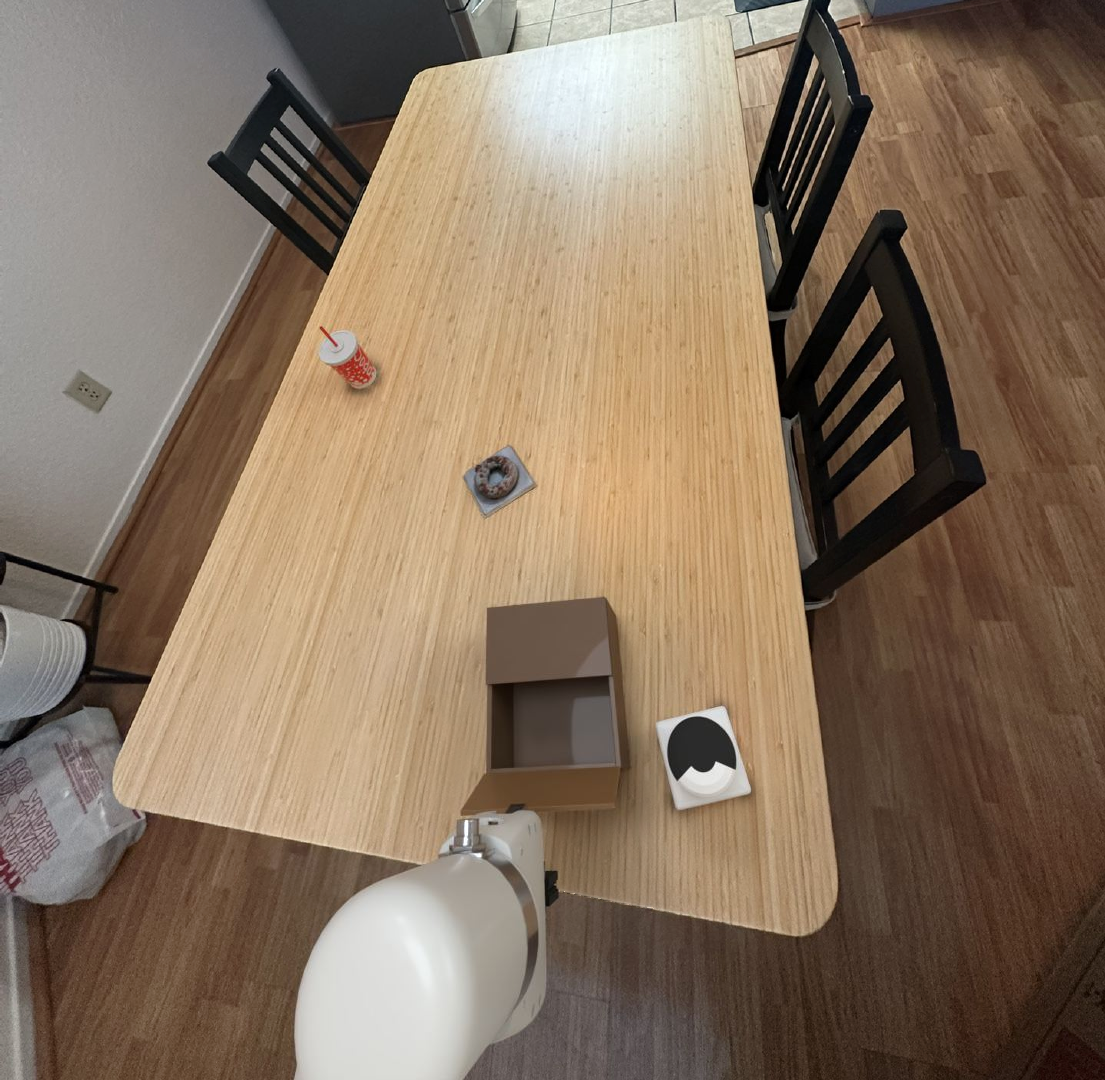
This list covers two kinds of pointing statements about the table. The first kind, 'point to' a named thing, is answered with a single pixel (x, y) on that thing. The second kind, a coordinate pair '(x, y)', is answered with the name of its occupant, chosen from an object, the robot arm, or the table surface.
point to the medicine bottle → (702, 758)
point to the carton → (554, 687)
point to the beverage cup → (347, 358)
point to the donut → (498, 481)
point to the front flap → (546, 790)
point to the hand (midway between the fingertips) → (539, 883)
